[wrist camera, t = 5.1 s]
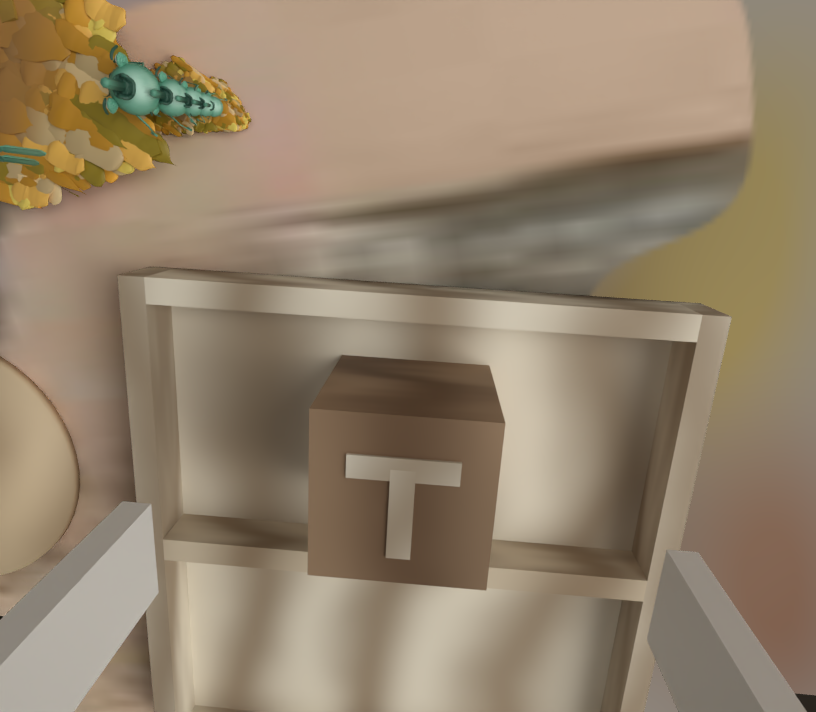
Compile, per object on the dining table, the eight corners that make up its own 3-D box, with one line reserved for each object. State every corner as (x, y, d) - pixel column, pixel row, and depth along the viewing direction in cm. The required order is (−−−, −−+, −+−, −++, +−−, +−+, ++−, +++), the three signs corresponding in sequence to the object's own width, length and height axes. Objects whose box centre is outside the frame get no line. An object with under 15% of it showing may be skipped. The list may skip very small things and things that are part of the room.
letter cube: (338, 486, 25) (306, 577, 19) (342, 354, 23) (308, 409, 17) (475, 497, 25) (486, 592, 19) (489, 365, 23) (506, 424, 17)
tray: (181, 710, 30) (158, 755, 27) (150, 266, 23) (117, 275, 21) (608, 751, 29) (623, 802, 26) (700, 303, 22) (731, 316, 20)
